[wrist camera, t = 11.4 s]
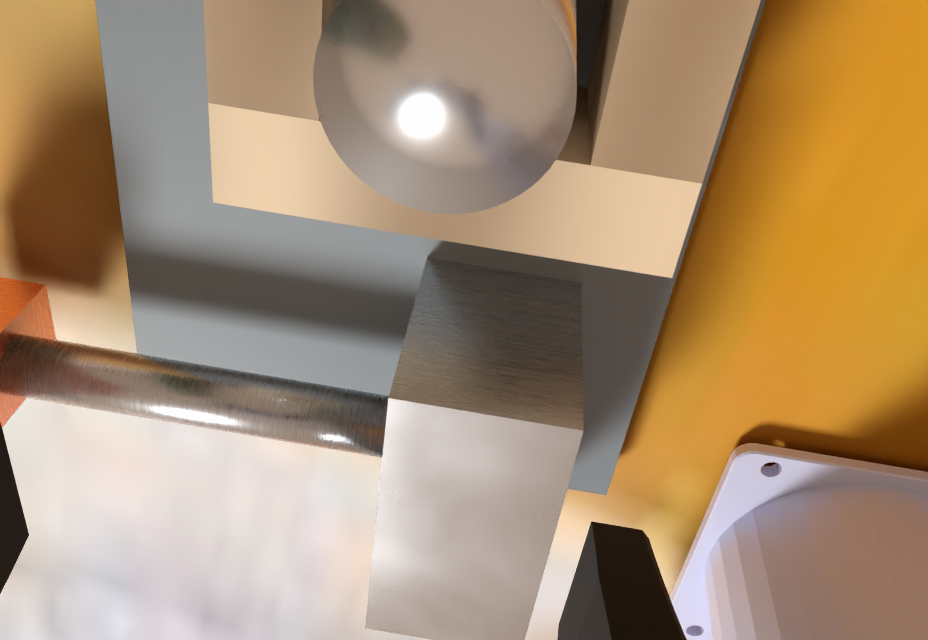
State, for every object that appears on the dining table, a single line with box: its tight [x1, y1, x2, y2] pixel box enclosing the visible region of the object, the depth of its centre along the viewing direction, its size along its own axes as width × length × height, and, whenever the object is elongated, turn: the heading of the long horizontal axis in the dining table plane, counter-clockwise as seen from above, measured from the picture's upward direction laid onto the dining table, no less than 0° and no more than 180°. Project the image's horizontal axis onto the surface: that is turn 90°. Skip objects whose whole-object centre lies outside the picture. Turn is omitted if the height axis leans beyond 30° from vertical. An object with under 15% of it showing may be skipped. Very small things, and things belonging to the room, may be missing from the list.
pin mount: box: [365, 257, 584, 640], centre depth 19 cm, size 4×7×5 cm, turn 173°
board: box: [95, 0, 766, 495], centre depth 18 cm, size 12×18×1 cm
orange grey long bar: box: [0, 277, 389, 457], centre depth 19 cm, size 13×2×4 cm, turn 83°
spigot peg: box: [313, 0, 577, 214], centre depth 13 cm, size 3×3×7 cm
